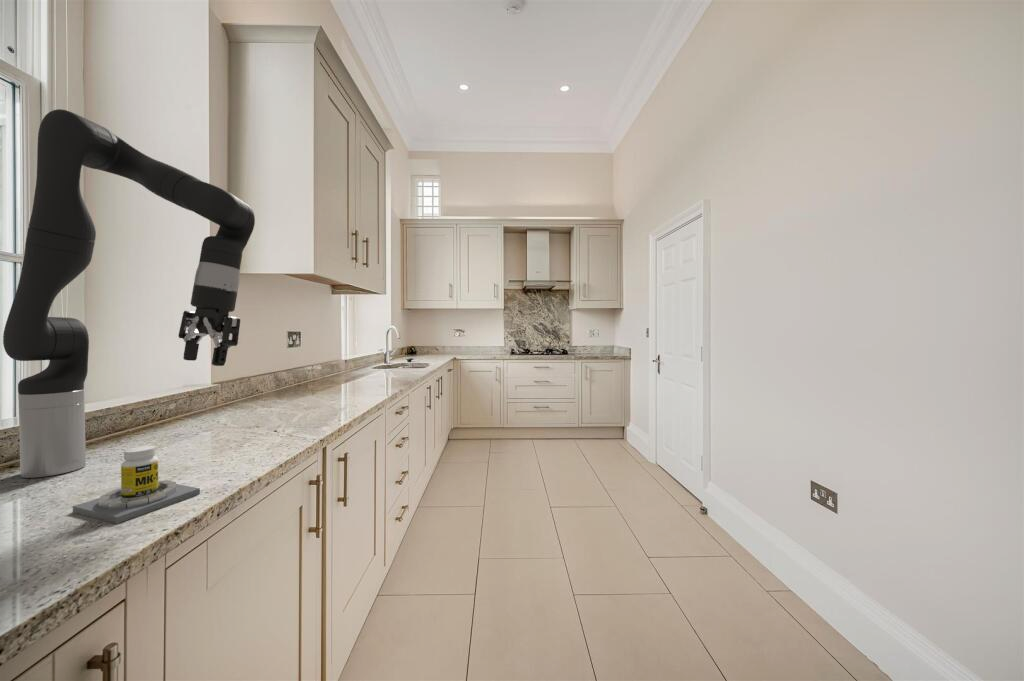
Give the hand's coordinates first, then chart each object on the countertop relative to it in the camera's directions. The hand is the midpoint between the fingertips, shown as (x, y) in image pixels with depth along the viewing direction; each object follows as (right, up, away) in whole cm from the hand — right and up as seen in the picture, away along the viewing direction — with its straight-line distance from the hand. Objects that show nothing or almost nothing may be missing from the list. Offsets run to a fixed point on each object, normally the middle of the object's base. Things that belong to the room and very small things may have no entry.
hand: (203, 362), depth 83 cm
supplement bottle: (-1, -23, -13) cm, 27 cm away
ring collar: (0, -24, -14) cm, 27 cm away
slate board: (0, -24, -14) cm, 27 cm away
